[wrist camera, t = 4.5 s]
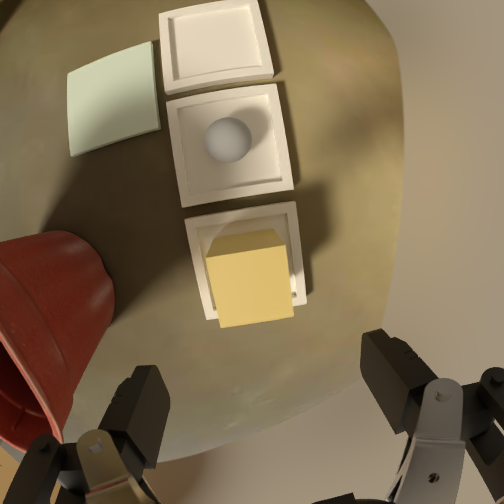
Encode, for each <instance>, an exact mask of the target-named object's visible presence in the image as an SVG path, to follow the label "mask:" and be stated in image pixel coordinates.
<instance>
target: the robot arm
mask: <svg viewBox="0 0 504 504" xmlns="http://www.w3.org/2000/svg"><path fill="white" fill-rule="evenodd" d="M360 369H361V373H362V376H363V378H364V380H365V382H366V384H367V385H368V387H369V389H370V391H371V392H372V394H373V396H374V397H375V399H376V401H377V403H378V404H379V406H380V408H381V409H382V411H383V413H384V415H385V417H386V418H387V420H388V422H389V424H390V425H391V427H392V429H393V431H394V432H395V434H399V433H401V432H404V431H406V432H407V434H408V435H409V436H408V438H407V442H406V445H405V448H404V451H403V454H402V457H401V461H400V464H399V466H398V469H397V472H396V475H395V478H394V480H393V482H392V485H391V487H390V489H389V491H388V493H387V495H386V497H385V500H384V501H383V500H377V499H355V498H354V495H353V493H349V494H345V495H342V496H338V497H335V498H331V499H327V500H322V501H318V502H315V503H312V504H455V501H456V497H457V493H458V489H459V484H460V479H461V473H462V468H463V461H464V454H465V449H466V450H467V452H468V454H469V455H470V457H471V459H472V460H473V462H474V464H475V466H476V467H477V469H478V471H479V472H480V474H481V476H482V478H483V480H484V482H485V483H486V485H487V487H488V489H489V491H490V493H491V495H492V497H493V498H494V500H495V502H496V504H504V436H503V434H502V433H501V432H500V430H499V429H498V427H497V426H496V425H495V423H494V420H495V419H496V421H497V422H498V423H499V425H500V426H501V427H502V428H503V430H504V369H503V368H499V367H493V368H489V369H487V370H486V371H485V372H484V373H483V374H482V376H481V380H480V382H477V383H472V384H468V385H463V386H460V385H459V384H458V383H457V382H456V381H454V380H452V379H448V378H438V377H437V376H436V375H435V374H434V372H432V370H431V369H430V368H429V367H428V366H427V365H426V363H425V362H424V361H423V360H422V359H421V358H420V357H418V355H417V354H416V353H415V352H414V351H413V350H412V348H411V347H410V346H409V345H408V344H407V343H406V342H405V341H402V340H400V339H398V338H396V337H393V338H390V337H389V336H388V335H387V333H386V332H385V331H384V330H383V329H381V328H380V329H377V330H373V331H370V332H366V333H363V335H362V342H361V359H360ZM169 409H170V396H169V393H168V390H167V388H166V386H165V384H164V381H163V379H162V377H161V374H160V372H159V369H158V368H157V366H156V365H142V366H136V368H135V370H134V372H133V374H132V376H131V378H126V379H125V380H124V381H123V382H122V383H121V384H120V385H119V386H118V388H117V390H116V392H115V394H114V396H113V398H112V400H111V404H109V406H108V408H107V410H106V412H105V414H104V416H103V419H102V421H101V423H100V425H99V427H98V429H95V430H90V431H88V432H86V433H84V434H83V435H82V436H81V437H80V438H79V439H78V441H77V443H65V444H61V443H60V442H59V441H58V440H57V439H56V437H55V436H53V435H51V434H42V435H40V436H38V437H36V438H35V439H34V440H33V441H32V443H31V444H30V446H29V448H28V450H27V452H26V454H25V456H24V458H23V460H22V462H21V464H20V466H19V468H18V470H17V472H16V474H15V476H14V478H13V481H12V483H11V485H10V487H9V490H8V492H7V494H6V497H5V499H4V501H3V504H50V497H51V494H52V491H53V489H54V486H55V483H56V481H57V482H58V483H60V484H61V488H60V490H59V493H58V496H57V499H56V502H55V504H161V502H160V501H159V499H158V498H157V497H156V495H155V494H154V492H153V490H152V489H151V487H150V486H149V484H148V483H147V481H146V479H145V478H144V477H143V475H142V474H143V470H144V469H154V470H155V467H156V463H157V458H158V454H159V450H160V446H161V441H162V437H163V433H164V429H165V425H166V421H167V417H168V413H169Z"/></svg>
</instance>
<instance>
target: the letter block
mask: <svg viewBox="0 0 504 504" xmlns="http://www.w3.org/2000/svg"><path fill="white" fill-rule="evenodd" d="M206 263H207V268H208V273H209V277H210V282H211V287H212V291H213V296H214V300H215V305H216V309H217V313H218V318H219V322H220V326H221V328H224V327H231V326H238V325H245V324H251V323H258V322H264V321H270V320H276V319H282V318H287V317H293V316H294V313H293V304H292V295H291V286H290V277H289V269H288V261H287V253H286V245H285V244H284V242H283V241H282V239H281V238H280V237H279V235H278V234H277V233H276V231H275V230H274V229H268V230H261V231H255V232H249V233H243V234H237V235H230V236H224V237H218V238H214V239H213V241H212V243H211V246H210V248H209V251H208V253H207V255H206Z"/></svg>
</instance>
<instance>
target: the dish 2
mask: <svg viewBox="0 0 504 504" xmlns="http://www.w3.org/2000/svg"><path fill="white" fill-rule="evenodd" d="M166 106H167V114H168V122H169V129H170V137H171V144H172V151H173V157H174V164H175V170H176V176H177V182H178V188H179V194H180V199H181V205H182V208H183V207H188V206H194V205H199V204H204V203H210V202H215V201H221V200H227V199H233V198H239V197H245V196H252V195H258V194H265V193H272V192H279V191H286V190H293V189H294V187H293V180H292V173H291V166H290V160H289V153H288V147H287V141H286V135H285V129H284V123H283V118H282V112H281V107H280V101H279V96H278V91H277V86H276V84H267V85H257V86H249V87H241V88H234V89H227V90H221V91H215V92H209V93H204V94H199V95H194V96H189V97H185V98H180V99H176V100H172V101H168V102H166ZM225 117H232V118H236V119H239V120H241V121H242V122H244V123H245V124H246V125H247V127H248V128H249V130H250V132H251V136H252V144H251V147H250V150H249V151H248V153H247V154H246V155H245V156H244V157H243V158H242V159H240V160H238V161H236V162H232V163H224V162H220V161H217V160H216V159H214V158H213V157H211V155H210V154H209V153H208V151H207V150H206V147H205V141H204V140H205V134H206V131H207V129H208V128H209V126H210V125H211V124H212V123H213V122H215V121H216V120H218V119H221V118H225Z"/></svg>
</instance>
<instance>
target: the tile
mask: <svg viewBox="0 0 504 504" xmlns="http://www.w3.org/2000/svg"><path fill="white" fill-rule="evenodd" d="M67 110H68V132H69V145H70V155H71V156H72V157H76V156H78V155H81V154H84V153H86V152H89V151H92V150H95V149H97V148H100V147H103V146H106V145H109V144H112V143H115V142H118V141H121V140H125V139H128V138H131V137H135V136H138V135H142V134H145V133H149V132H153V131H157V130H160V129H161V126H160V117H159V109H158V100H157V90H156V80H155V68H154V54H153V44H152V43H151V41H150V42H146V43H143V44H140V45H137V46H134V47H131V48H128V49H125V50H122V51H119V52H117V53H114V54H111V55H109V56H106V57H104V58H101V59H99V60H97V61H94V62H92V63H90V64H87V65H85V66H83V67H81V68H79V69H77V70H74V71H72V72H70V73H68V79H67Z"/></svg>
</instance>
